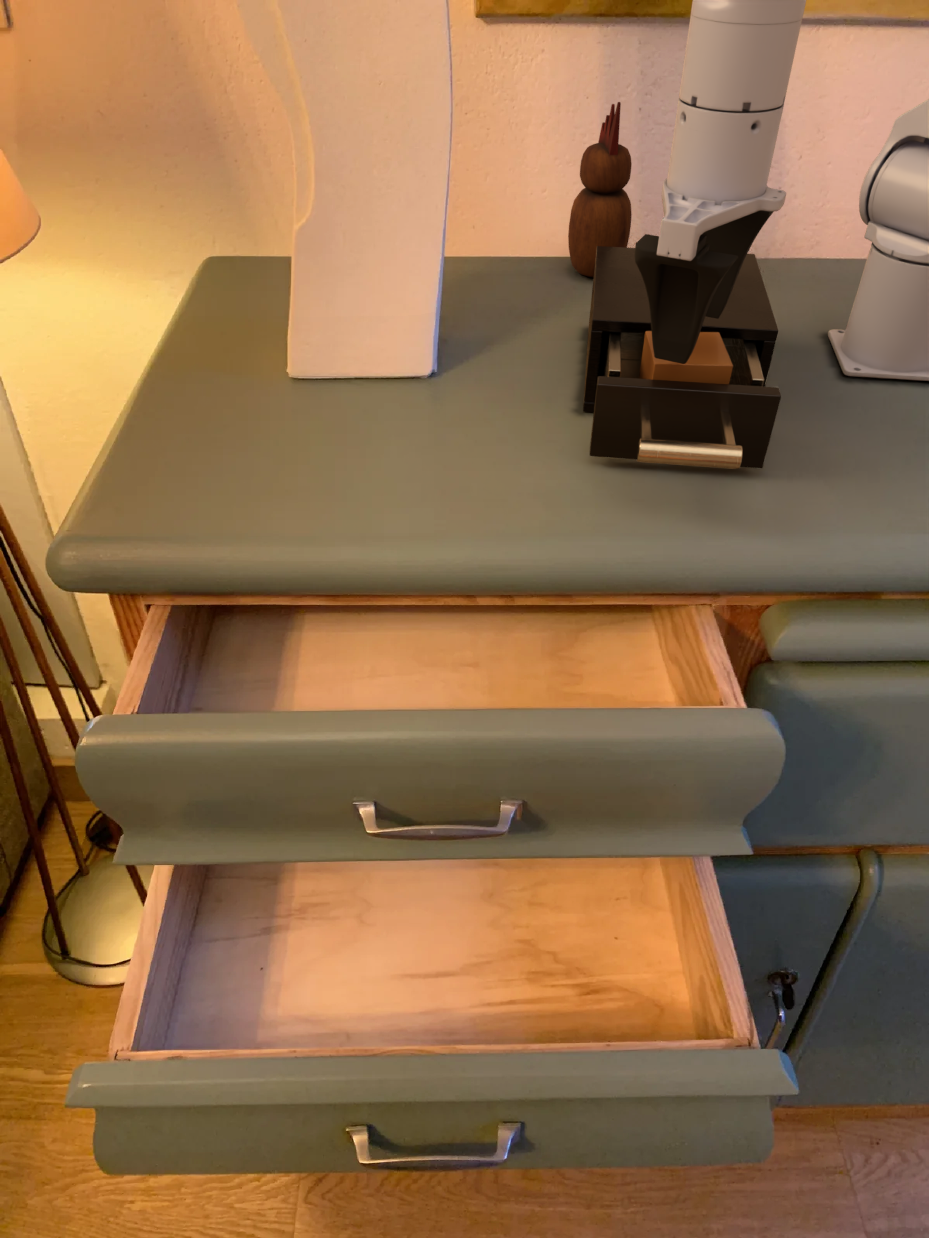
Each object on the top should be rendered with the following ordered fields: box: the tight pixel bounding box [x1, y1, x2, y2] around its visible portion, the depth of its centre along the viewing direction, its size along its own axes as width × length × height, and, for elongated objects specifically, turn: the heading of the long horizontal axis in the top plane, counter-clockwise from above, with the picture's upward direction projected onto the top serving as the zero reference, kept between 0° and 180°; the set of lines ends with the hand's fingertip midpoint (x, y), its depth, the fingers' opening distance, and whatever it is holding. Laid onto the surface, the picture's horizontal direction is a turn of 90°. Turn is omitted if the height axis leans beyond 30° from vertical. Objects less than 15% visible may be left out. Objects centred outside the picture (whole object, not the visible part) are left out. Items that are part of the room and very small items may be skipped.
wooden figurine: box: [567, 101, 633, 278], centre depth 82 cm, size 7×6×15 cm
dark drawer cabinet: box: [582, 246, 780, 413], centre depth 69 cm, size 15×13×7 cm
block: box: [639, 331, 733, 384], centre depth 60 cm, size 5×5×5 cm
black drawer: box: [589, 331, 782, 470], centre depth 61 cm, size 19×11×5 cm, turn 173°
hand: (688, 335), depth 58 cm, fingers open, 7 cm apart
